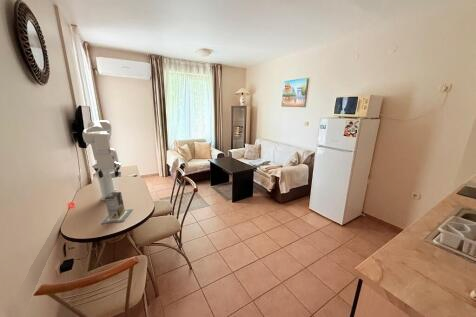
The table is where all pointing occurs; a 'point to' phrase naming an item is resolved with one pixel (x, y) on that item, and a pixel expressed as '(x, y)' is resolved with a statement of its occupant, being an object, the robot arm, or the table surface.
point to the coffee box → (115, 205)
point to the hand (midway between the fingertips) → (109, 176)
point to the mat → (122, 219)
